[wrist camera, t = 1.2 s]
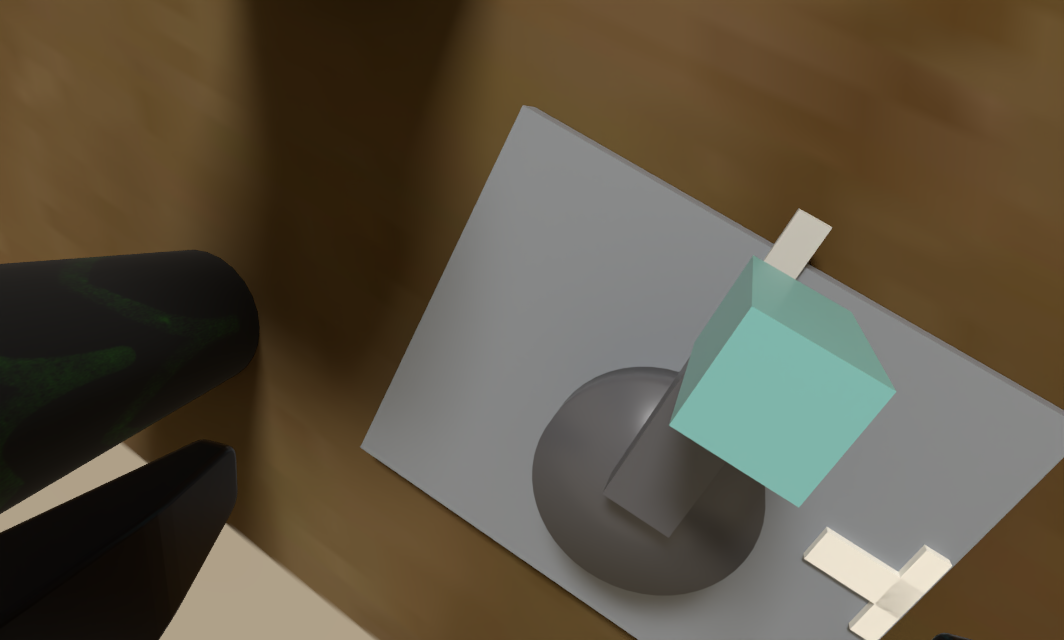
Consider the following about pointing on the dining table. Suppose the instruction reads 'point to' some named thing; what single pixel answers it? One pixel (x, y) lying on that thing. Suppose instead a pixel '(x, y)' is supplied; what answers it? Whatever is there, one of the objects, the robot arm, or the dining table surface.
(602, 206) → the base
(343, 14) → the dining table surface
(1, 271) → the cup
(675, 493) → the handle
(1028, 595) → the dining table surface
